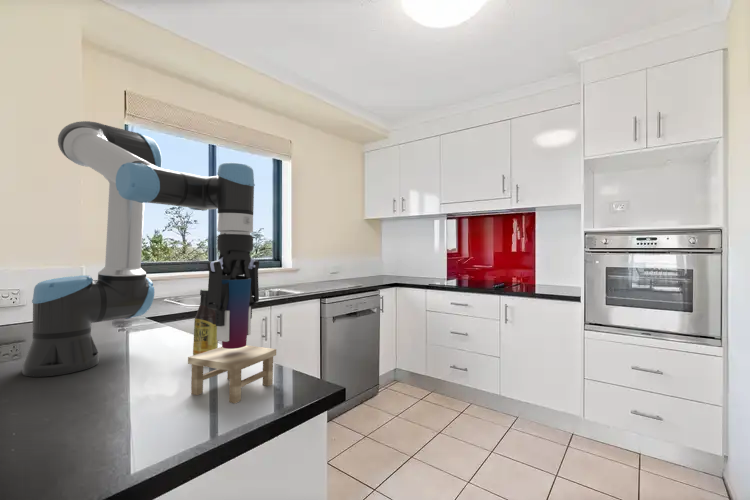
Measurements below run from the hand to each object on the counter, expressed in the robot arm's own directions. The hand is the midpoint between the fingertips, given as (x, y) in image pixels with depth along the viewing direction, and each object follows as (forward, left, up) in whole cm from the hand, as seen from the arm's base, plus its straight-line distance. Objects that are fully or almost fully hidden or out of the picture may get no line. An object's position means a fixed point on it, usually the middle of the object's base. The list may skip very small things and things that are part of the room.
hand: (234, 337), depth 83 cm
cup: (0, 0, -2) cm, 2 cm away
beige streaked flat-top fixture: (0, 0, -11) cm, 11 cm away
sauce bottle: (-23, +14, -12) cm, 29 cm away
